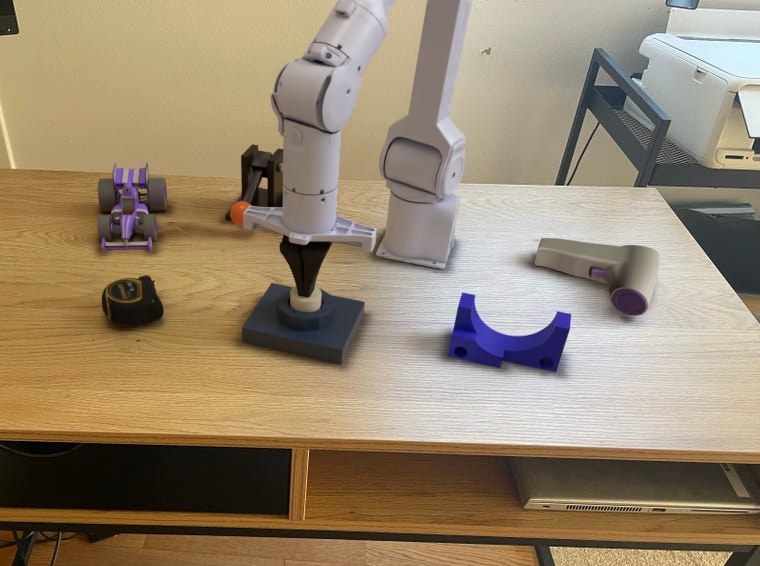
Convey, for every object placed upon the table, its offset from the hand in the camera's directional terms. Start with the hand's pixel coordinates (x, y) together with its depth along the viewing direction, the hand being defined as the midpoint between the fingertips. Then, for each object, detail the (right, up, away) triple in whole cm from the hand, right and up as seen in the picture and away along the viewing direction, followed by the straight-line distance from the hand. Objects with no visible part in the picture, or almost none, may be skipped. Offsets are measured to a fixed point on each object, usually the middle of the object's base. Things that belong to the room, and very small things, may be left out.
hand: (306, 292), depth 85 cm
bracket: (-6, +15, +26) cm, 30 cm away
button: (0, -1, +1) cm, 2 cm away
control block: (0, -4, +3) cm, 5 cm away
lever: (-7, +16, +21) cm, 27 cm away
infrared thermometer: (+37, +2, +12) cm, 39 cm away
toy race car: (-25, +11, +22) cm, 35 cm away
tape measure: (-20, -2, +5) cm, 21 cm away
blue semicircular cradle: (+23, -8, 0) cm, 24 cm away
